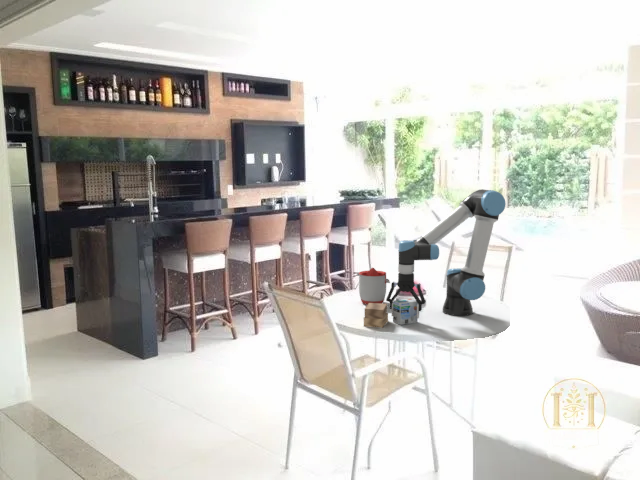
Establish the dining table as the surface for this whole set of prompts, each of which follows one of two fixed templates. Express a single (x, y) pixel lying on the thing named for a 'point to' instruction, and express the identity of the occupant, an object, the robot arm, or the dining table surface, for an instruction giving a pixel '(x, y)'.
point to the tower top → (376, 310)
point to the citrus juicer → (372, 286)
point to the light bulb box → (405, 311)
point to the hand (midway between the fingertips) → (405, 316)
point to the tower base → (375, 322)
